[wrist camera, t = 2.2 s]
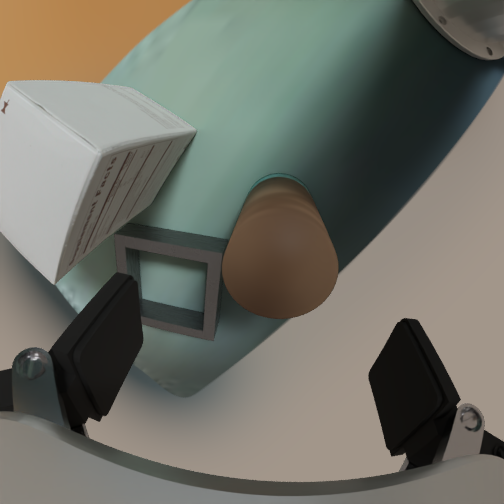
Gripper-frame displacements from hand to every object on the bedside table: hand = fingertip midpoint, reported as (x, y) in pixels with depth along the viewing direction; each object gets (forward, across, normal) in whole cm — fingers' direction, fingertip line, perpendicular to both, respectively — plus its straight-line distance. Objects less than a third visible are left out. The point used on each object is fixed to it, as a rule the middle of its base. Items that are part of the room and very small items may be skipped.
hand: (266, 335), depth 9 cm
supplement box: (+14, +11, -4) cm, 18 cm away
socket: (+14, +8, +7) cm, 17 cm away
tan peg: (+13, 0, -1) cm, 13 cm away
